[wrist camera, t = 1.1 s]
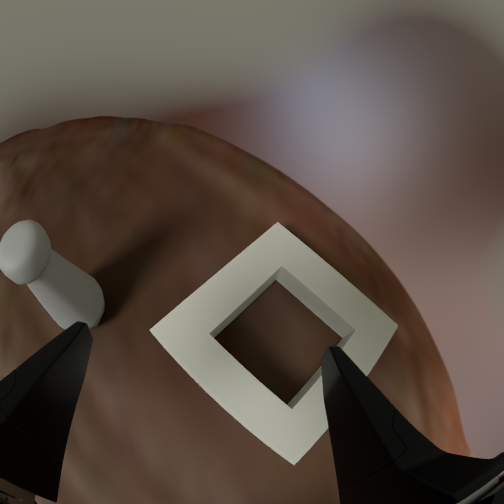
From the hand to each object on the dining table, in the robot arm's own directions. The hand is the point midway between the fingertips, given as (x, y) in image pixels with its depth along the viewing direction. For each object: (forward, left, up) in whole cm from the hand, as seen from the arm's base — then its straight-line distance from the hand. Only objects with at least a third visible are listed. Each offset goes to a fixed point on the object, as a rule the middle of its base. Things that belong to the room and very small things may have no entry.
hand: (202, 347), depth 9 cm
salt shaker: (-5, +13, -15) cm, 21 cm away
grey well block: (+7, -2, -15) cm, 17 cm away
